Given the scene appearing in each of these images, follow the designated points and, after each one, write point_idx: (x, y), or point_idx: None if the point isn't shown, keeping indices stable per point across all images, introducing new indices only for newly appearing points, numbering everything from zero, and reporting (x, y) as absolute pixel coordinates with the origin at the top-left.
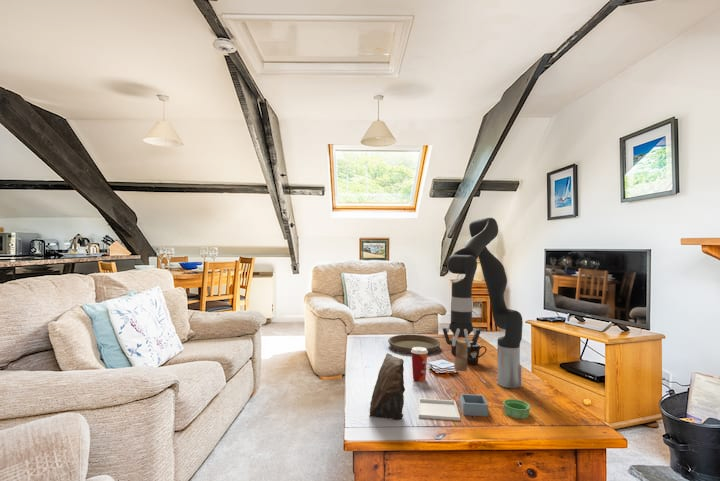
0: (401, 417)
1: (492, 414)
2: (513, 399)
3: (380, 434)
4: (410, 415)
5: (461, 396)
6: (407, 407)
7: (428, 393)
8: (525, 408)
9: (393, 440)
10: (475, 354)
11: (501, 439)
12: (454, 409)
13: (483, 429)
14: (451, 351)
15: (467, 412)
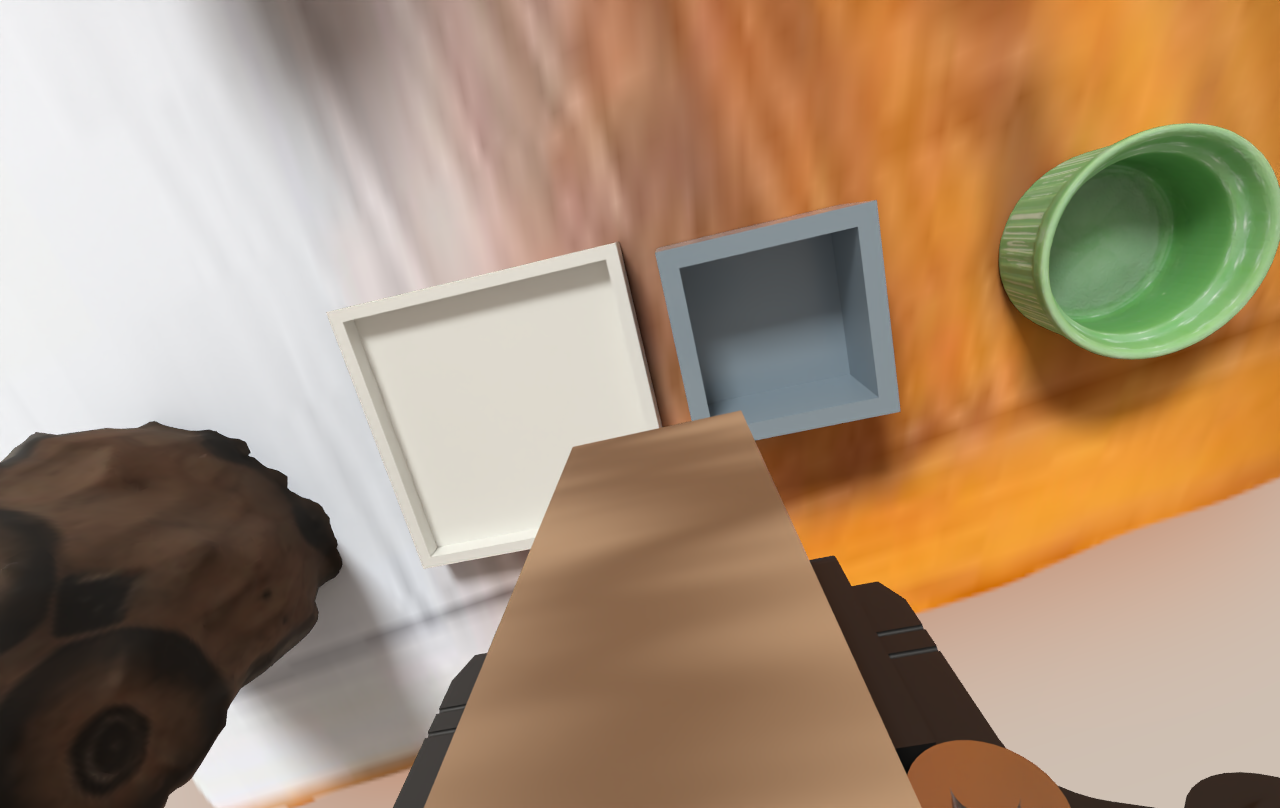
0: (332, 554)
1: (900, 289)
2: (1161, 136)
3: (314, 739)
4: (369, 505)
5: (673, 315)
6: (306, 401)
7: (355, 52)
8: (1212, 201)
9: (392, 766)
10: None
11: (916, 603)
12: (626, 363)
13: (822, 528)
14: (452, 721)
15: None
